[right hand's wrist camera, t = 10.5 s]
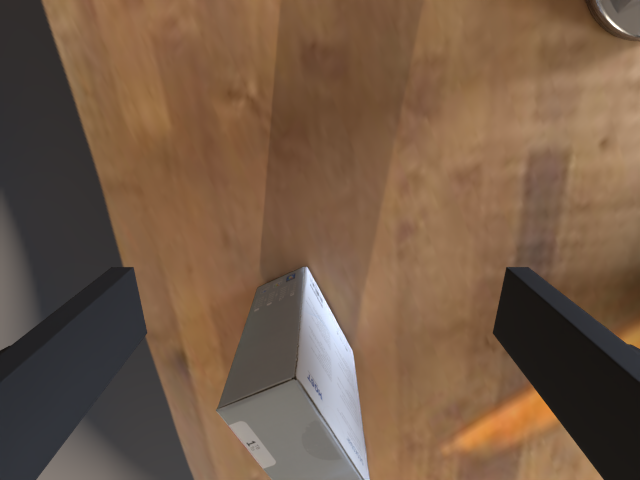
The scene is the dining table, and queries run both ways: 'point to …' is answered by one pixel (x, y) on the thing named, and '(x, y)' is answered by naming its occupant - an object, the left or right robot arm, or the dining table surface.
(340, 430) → the hard drive box
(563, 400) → the right robot arm
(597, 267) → the dining table surface
